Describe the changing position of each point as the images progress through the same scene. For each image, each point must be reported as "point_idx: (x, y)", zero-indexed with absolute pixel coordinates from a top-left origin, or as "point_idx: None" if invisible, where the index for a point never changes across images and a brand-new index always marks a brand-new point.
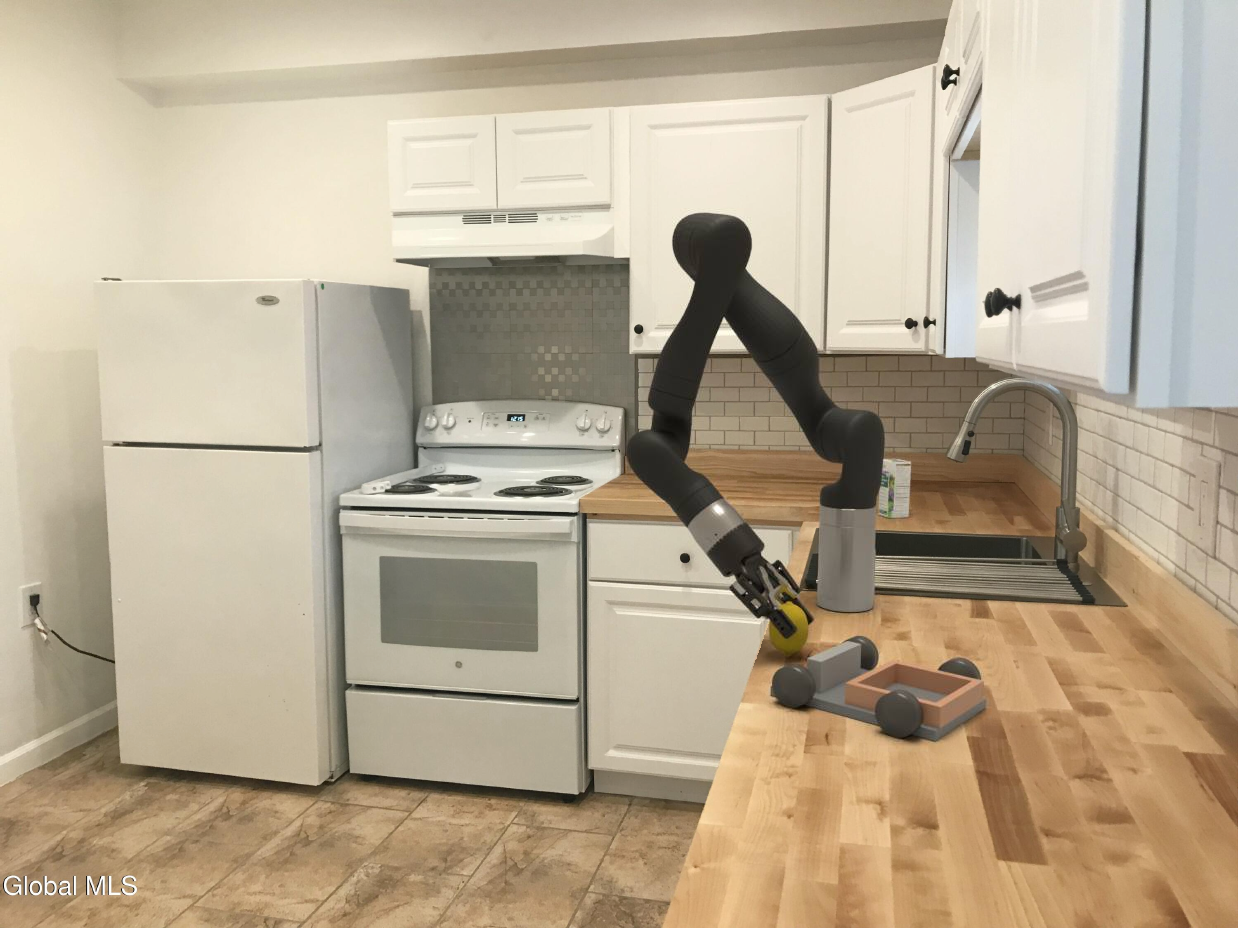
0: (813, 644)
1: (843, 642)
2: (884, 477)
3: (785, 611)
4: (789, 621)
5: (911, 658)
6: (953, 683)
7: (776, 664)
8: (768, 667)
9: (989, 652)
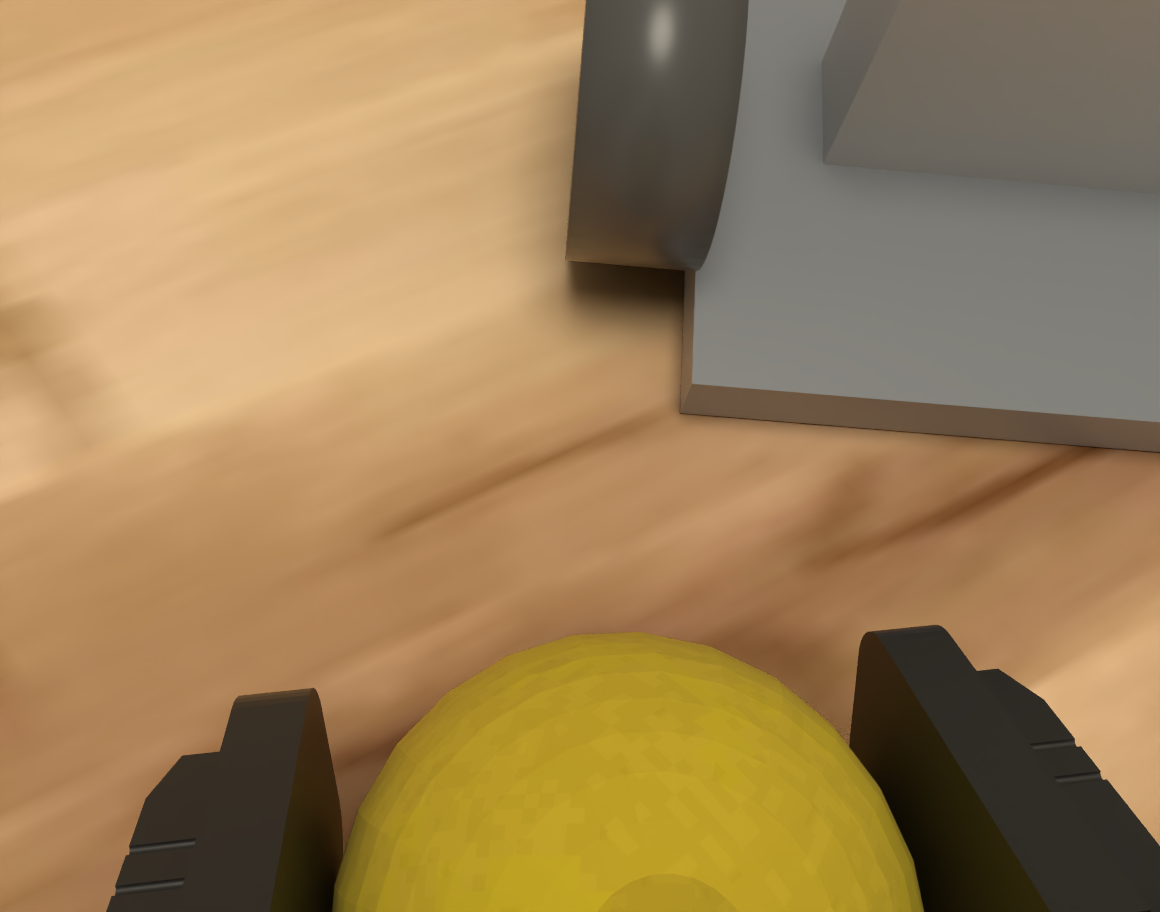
0: (25, 881)
1: (733, 127)
2: None
3: (868, 909)
4: (994, 713)
5: (5, 19)
6: None
7: None
8: None
9: None
